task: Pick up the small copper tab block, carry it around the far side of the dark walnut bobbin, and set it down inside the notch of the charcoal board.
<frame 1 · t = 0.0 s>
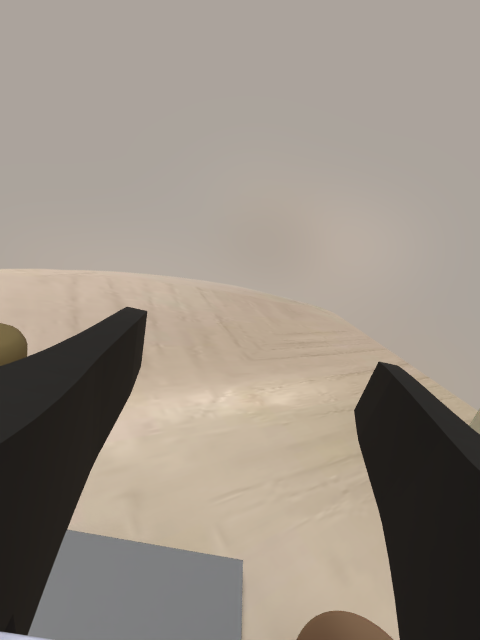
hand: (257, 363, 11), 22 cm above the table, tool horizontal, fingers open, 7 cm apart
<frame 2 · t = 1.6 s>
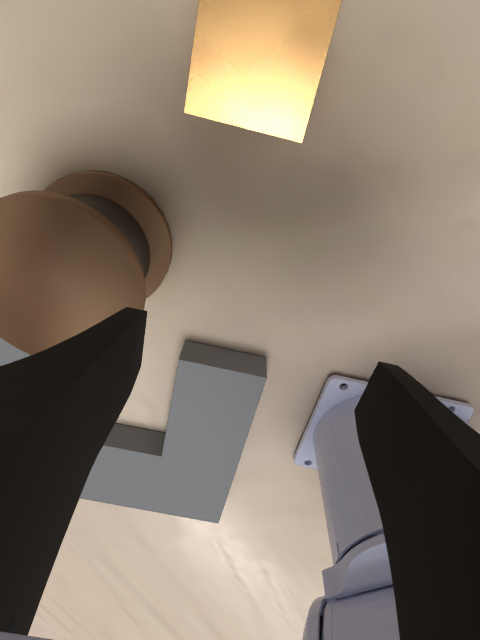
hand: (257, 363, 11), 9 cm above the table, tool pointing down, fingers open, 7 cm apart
bobbin: (105, 241, 20), on the table
notched board: (112, 412, 25), on the table
tab block: (258, 71, 16), on the table
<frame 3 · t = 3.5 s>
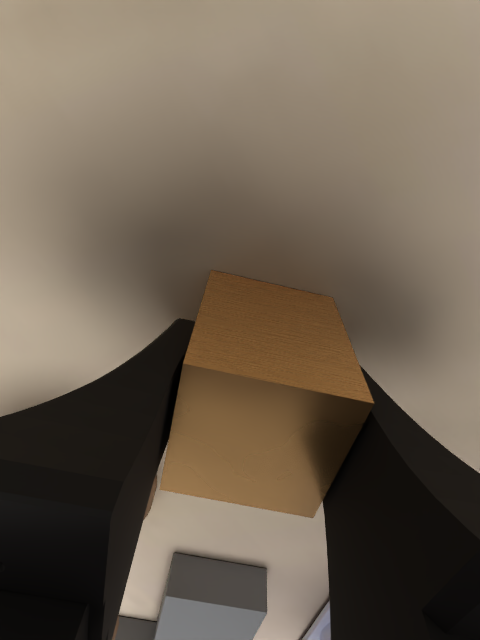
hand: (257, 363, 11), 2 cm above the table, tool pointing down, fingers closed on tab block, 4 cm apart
notched board: (93, 604, 23), on the table
tab block: (257, 335, 13), on the table, touching gripper
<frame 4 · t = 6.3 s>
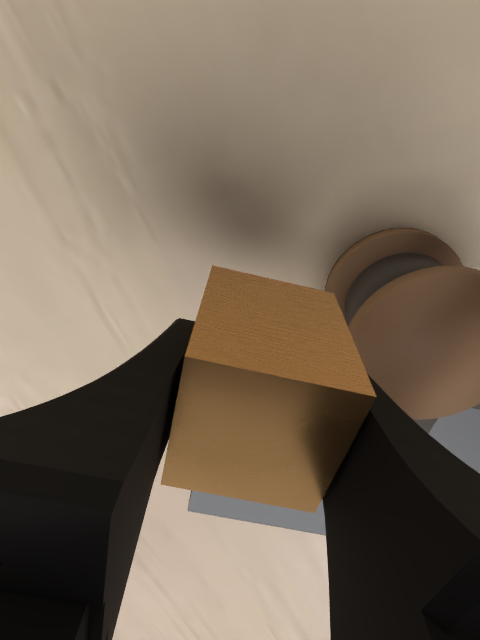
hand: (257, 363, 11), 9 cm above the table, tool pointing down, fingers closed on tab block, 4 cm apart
bobbin: (390, 292, 20), on the table
notched board: (333, 446, 26), on the table
tab block: (258, 331, 13), point 8 cm above the table, touching gripper
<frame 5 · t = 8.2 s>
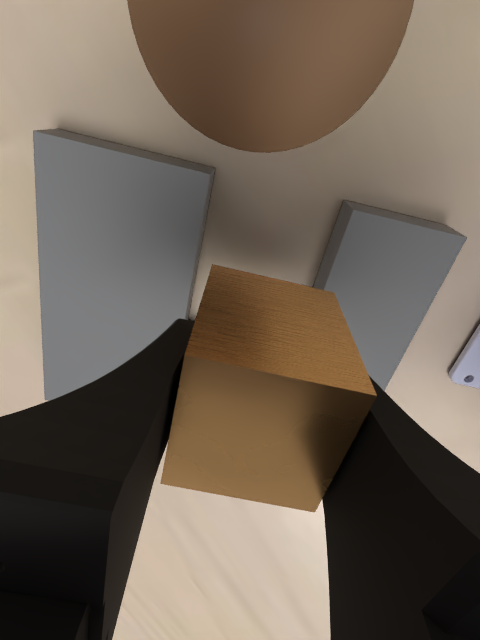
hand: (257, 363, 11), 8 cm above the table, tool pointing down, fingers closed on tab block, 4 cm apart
bobbin: (265, 38, 14), on the table
notched board: (227, 311, 20), on the table
tab block: (258, 330, 13), point 7 cm above the table, touching gripper
when the fingers open (3 cm above the table, at t = 9.4 s): tab block drops 2 cm, resting in notched board.
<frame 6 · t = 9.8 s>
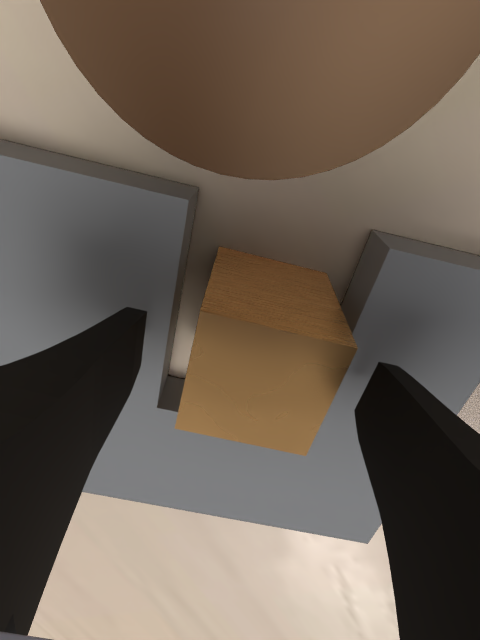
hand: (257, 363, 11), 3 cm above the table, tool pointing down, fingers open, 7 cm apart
bobbin: (267, 5, 10), on the table
notched board: (217, 367, 16), on the table
tab block: (258, 307, 14), resting in notched board
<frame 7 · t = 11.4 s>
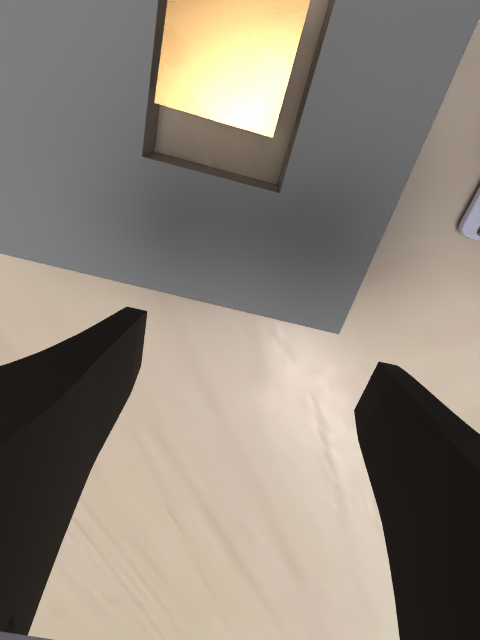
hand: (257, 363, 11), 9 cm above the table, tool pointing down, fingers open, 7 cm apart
notched board: (199, 140, 17), on the table
tab block: (237, 66, 16), resting in notched board
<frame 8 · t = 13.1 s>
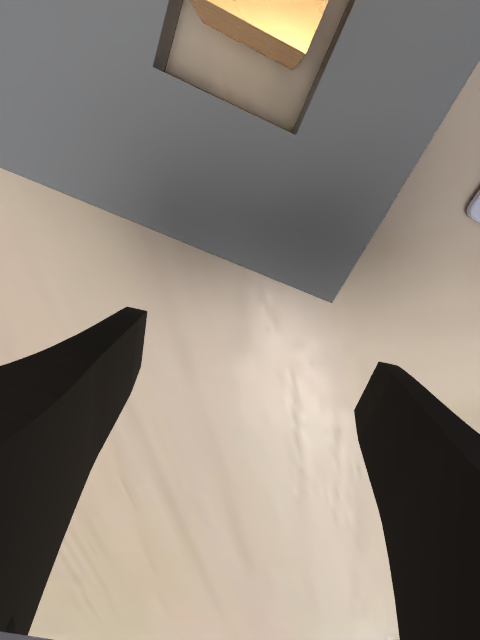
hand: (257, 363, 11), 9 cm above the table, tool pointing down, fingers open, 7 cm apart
notched board: (216, 67, 16), on the table
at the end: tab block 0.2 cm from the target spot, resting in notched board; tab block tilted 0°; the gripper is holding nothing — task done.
